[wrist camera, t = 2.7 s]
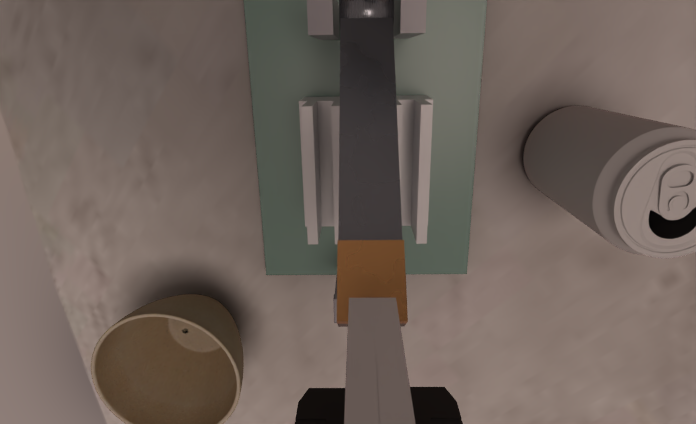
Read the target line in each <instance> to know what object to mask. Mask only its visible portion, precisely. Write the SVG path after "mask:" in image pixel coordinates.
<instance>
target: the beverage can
mask: <svg viewBox="0 0 696 424" xmlns="http://www.w3.org/2000/svg"><path fill="white" fill-rule="evenodd" d="M523 161H524V168H525V171H526V174H527V176H528V178H529V180H530V182H531V183H532V184H533V185H534V186H535V187H536V188H537V189H538V190H539V191H541V192H542V193H543V194H545V195H546V196H548V197H549V198H550V199H552V200H553V201H554V202H556V203H557V204H558V205H560V206H561V207H562V208H564V209H565V210H567V211H568V212H569V213H571V214H572V215H573V216H575V217H576V218H577V219H579V220H580V221H581V222H583V223H584V224H586V225H587V226H588V227H590V228H591V229H592V230H594V231H595V232H596V233H598V234H599V235H600V236H602V237H603V238H604V239H606V240H607V241H609V242H610V243H611V244H613V245H614V246H616V247H617V248H620V249H622V250H625V251H627V252H630V253H634V254H641V255H647V256H650V257H654V258H676V257H681V256H685V255H688V254H691V253H694V252H696V130H694V129H690V128H686V127H681V126H677V125H672V124H667V123H663V122H658V121H653V120H649V119H644V118H639V117H635V116H630V115H625V114H621V113H616V112H611V111H607V110H602V109H597V108H592V107H588V106H569V107H565V108H561V109H559V110H556V111H554V112H552V113H551V114H549V115H548V116H546V117H545V118H544V119H542V120H541V121H540V122H539V123H538V124H537V125H536V127H535V128H534V129H533V130H532V132H531V134H530V135H529V137H528V139H527V142H526V145H525V149H524V157H523Z"/></svg>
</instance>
